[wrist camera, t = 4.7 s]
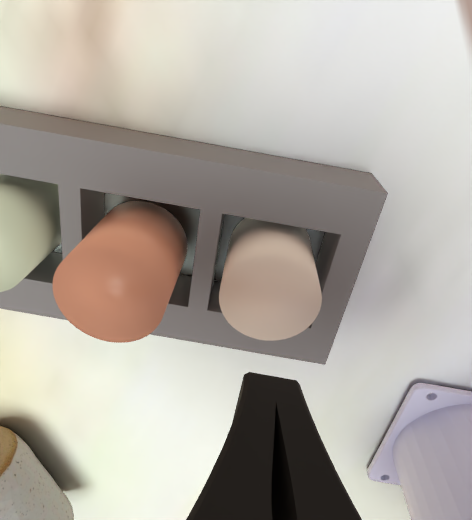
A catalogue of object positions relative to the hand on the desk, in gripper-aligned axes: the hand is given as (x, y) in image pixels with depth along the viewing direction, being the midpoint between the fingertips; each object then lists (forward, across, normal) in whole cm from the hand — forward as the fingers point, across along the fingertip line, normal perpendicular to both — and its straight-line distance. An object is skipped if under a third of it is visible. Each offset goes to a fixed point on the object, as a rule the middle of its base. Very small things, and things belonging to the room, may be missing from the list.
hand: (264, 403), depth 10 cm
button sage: (+8, +10, 0) cm, 13 cm away
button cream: (+8, 0, 0) cm, 8 cm away
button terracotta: (+7, +5, 0) cm, 9 cm away
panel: (+8, +5, 0) cm, 10 cm away
